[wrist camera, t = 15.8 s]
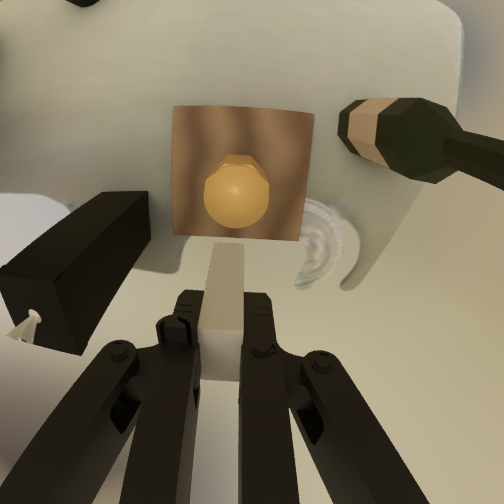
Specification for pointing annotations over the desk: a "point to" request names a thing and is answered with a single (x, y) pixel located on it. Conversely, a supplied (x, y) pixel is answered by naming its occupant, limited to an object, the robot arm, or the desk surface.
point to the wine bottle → (83, 2)
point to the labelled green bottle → (419, 140)
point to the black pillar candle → (75, 271)
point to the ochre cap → (236, 191)
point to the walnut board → (248, 143)
